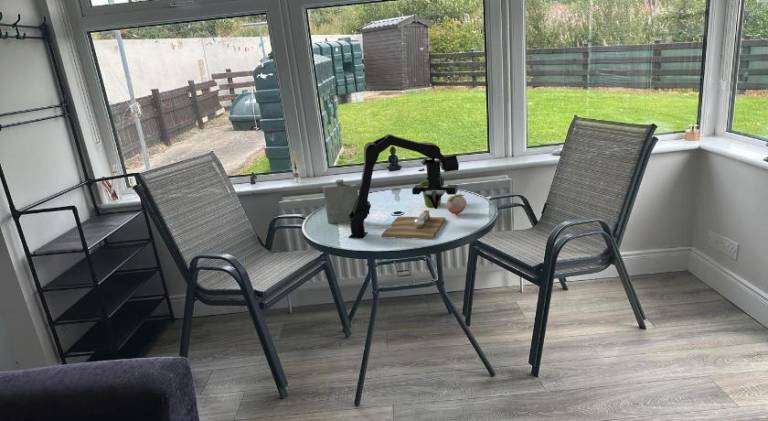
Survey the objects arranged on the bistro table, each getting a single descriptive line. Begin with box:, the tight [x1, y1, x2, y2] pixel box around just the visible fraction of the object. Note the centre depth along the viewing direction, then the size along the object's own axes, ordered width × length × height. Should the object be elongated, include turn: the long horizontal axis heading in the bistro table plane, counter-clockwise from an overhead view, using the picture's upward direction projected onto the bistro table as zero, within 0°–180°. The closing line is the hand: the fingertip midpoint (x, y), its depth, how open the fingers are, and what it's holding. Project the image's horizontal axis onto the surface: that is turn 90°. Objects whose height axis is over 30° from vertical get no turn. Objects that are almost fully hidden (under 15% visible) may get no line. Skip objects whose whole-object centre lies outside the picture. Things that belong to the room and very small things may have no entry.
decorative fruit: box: [445, 193, 467, 216], centre depth 227 cm, size 9×8×10 cm
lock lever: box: [414, 209, 431, 228], centre depth 218 cm, size 14×4×3 cm, turn 160°
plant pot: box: [418, 180, 444, 208], centre depth 244 cm, size 12×12×11 cm
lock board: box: [381, 216, 447, 240], centre depth 217 cm, size 22×22×2 cm
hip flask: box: [322, 178, 359, 225], centre depth 233 cm, size 16×4×20 cm, turn 80°
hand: (436, 208), depth 218 cm, fingers closed
